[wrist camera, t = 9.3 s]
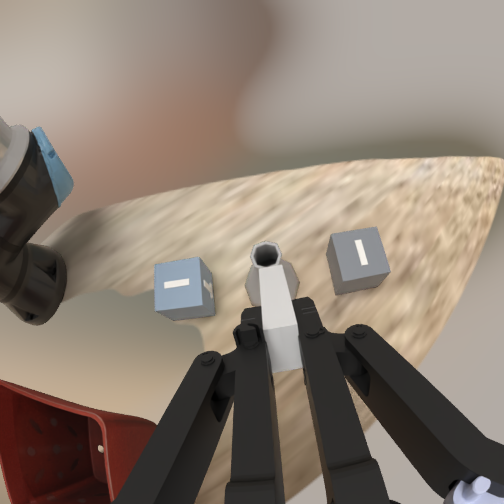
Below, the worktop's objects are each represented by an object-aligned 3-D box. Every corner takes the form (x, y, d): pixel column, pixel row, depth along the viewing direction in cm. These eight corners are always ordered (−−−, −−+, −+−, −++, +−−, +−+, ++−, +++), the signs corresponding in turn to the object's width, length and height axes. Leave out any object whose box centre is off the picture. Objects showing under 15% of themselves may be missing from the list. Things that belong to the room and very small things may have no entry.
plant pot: (81, 488, 27) (10, 508, 12) (72, 386, 35) (-10, 375, 20) (188, 519, 25) (134, 576, 10) (179, 403, 33) (105, 416, 18)
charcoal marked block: (335, 295, 36) (343, 281, 31) (325, 253, 39) (331, 233, 33) (378, 286, 36) (392, 271, 30) (366, 246, 38) (377, 225, 33)
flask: (244, 261, 40) (230, 226, 31) (297, 257, 39) (298, 220, 30) (245, 312, 37) (230, 291, 28) (301, 309, 36) (305, 287, 27)
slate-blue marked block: (173, 320, 38) (154, 310, 32) (172, 279, 40) (154, 264, 35) (216, 315, 37) (203, 304, 32) (212, 273, 40) (200, 256, 34)
